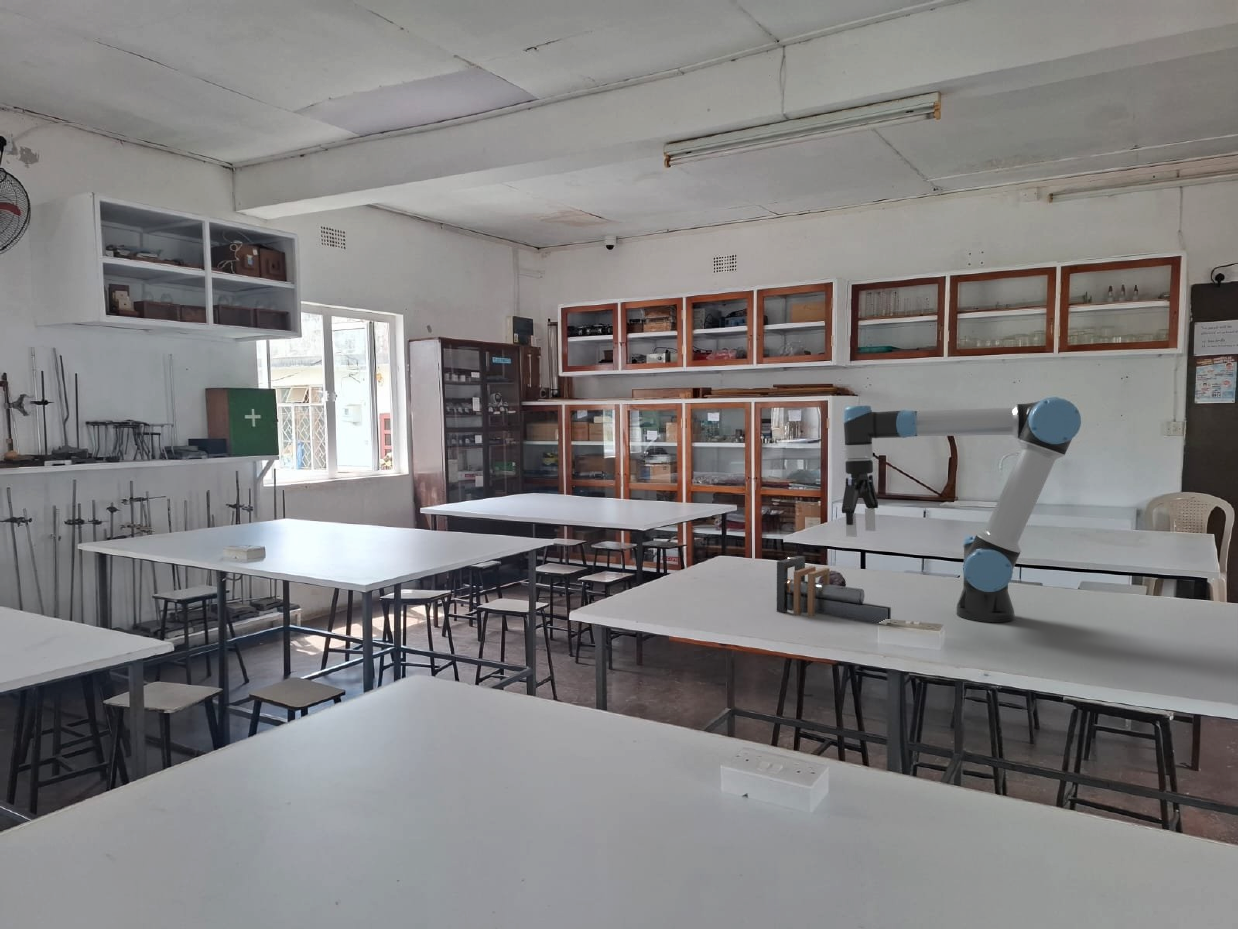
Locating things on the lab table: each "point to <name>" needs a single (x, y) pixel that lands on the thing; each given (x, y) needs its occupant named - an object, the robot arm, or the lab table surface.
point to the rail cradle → (845, 609)
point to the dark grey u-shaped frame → (786, 579)
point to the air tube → (830, 592)
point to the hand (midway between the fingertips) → (861, 533)
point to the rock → (834, 579)
